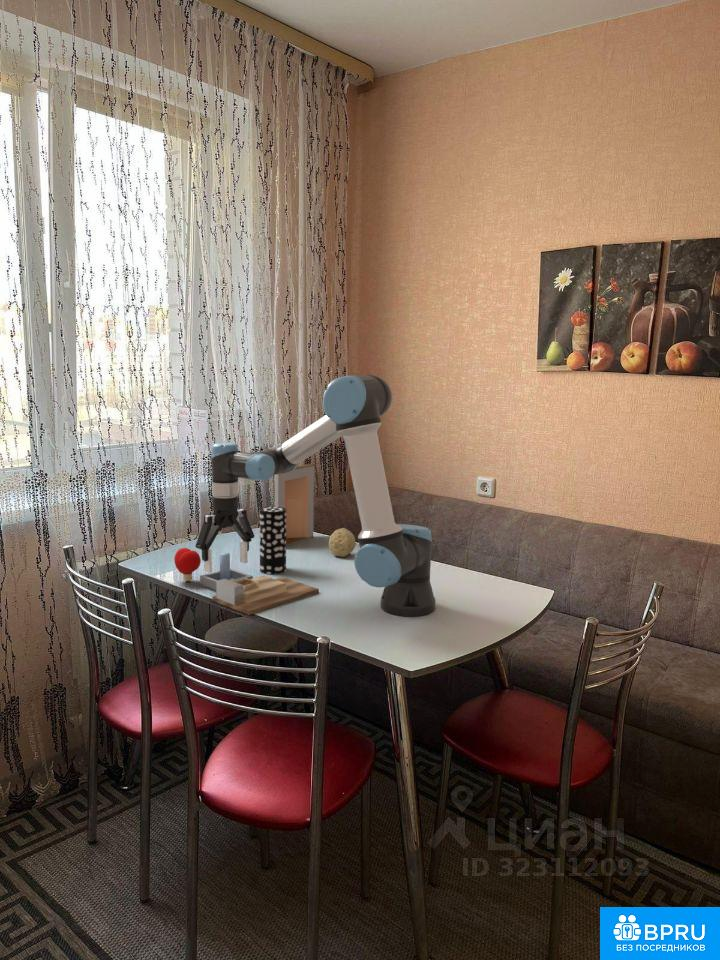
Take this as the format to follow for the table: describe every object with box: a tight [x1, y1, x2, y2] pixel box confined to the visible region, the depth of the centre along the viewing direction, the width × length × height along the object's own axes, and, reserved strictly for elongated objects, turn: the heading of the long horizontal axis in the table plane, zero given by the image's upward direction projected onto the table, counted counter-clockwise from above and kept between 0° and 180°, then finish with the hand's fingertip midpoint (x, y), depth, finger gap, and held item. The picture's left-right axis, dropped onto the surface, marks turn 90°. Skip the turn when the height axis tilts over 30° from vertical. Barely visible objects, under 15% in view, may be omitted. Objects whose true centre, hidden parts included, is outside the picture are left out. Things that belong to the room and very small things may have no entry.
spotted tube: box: [259, 506, 287, 575], centre depth 231 cm, size 8×8×20 cm
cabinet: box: [274, 463, 315, 547], centre depth 268 cm, size 21×10×28 cm, turn 147°
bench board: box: [211, 576, 320, 616], centre depth 208 cm, size 16×26×1 cm, turn 138°
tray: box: [199, 568, 254, 593], centre depth 217 cm, size 11×11×3 cm
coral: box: [328, 527, 357, 558], centre depth 251 cm, size 10×10×10 cm
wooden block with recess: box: [234, 575, 286, 603], centre depth 207 cm, size 10×14×4 cm
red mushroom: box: [174, 547, 202, 583], centre depth 219 cm, size 9×7×10 cm
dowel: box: [218, 552, 231, 580], centre depth 217 cm, size 3×3×9 cm
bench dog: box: [216, 579, 243, 605], centre depth 200 cm, size 8×3×5 cm, turn 48°
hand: (226, 566), depth 216 cm, fingers open, 12 cm apart
